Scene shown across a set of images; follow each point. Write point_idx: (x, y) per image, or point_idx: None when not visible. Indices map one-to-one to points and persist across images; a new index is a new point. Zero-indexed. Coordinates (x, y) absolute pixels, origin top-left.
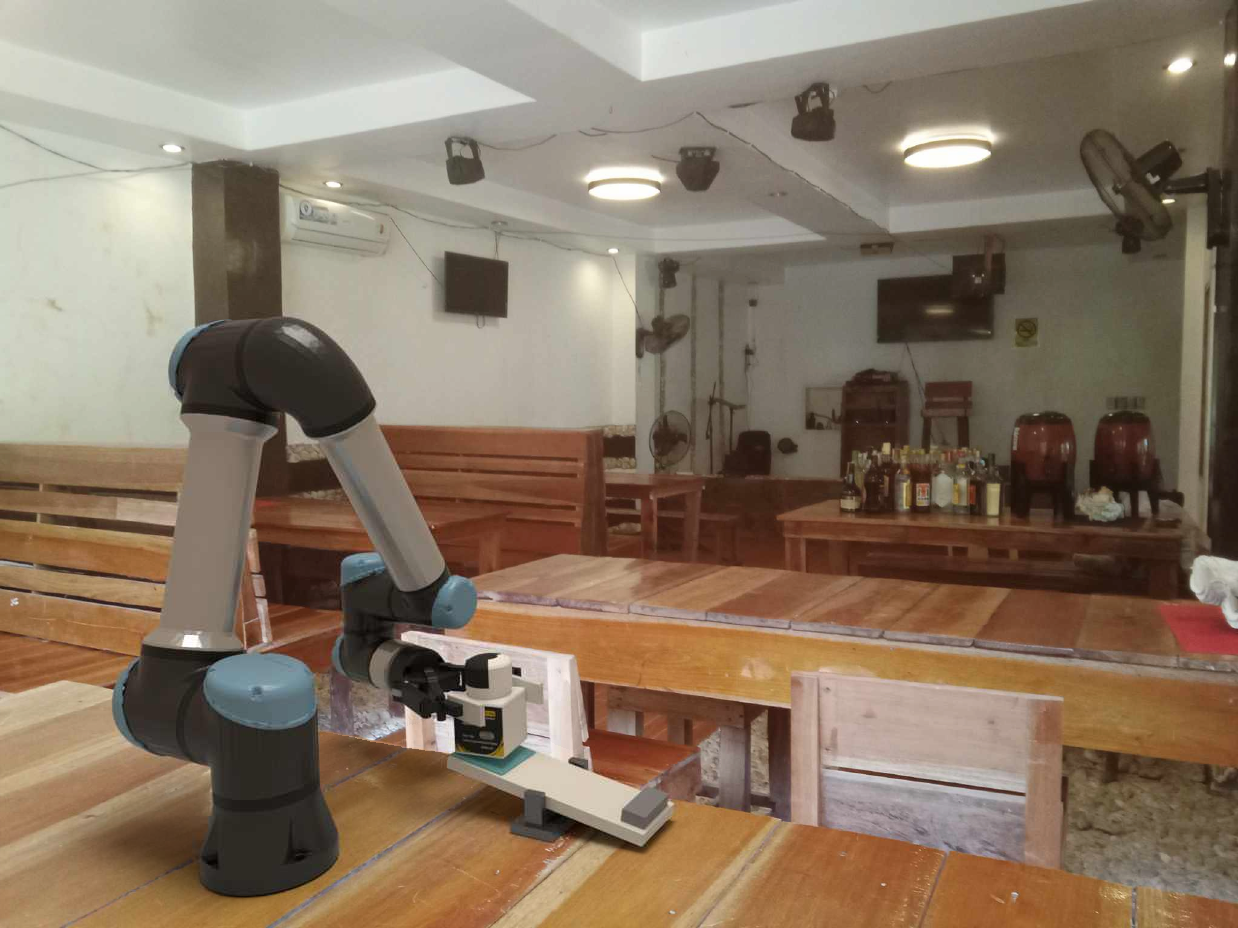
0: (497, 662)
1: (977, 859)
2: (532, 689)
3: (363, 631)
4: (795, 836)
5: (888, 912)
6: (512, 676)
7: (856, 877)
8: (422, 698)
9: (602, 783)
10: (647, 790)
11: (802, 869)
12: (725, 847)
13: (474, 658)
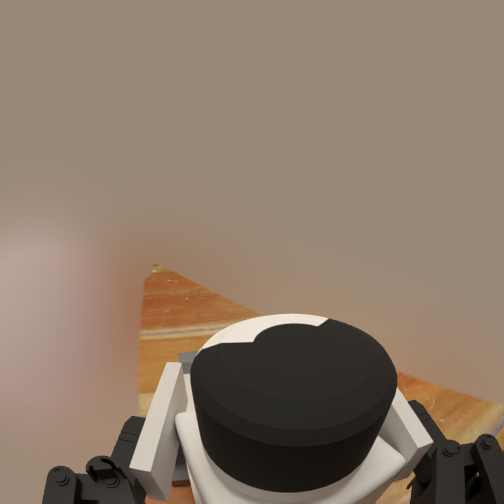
0: (296, 314)
1: (145, 288)
2: (179, 392)
3: None
4: (157, 326)
5: (209, 293)
6: (152, 446)
7: (187, 303)
8: (494, 445)
9: (192, 400)
10: (188, 360)
11: (194, 315)
12: (194, 342)
13: (357, 363)
